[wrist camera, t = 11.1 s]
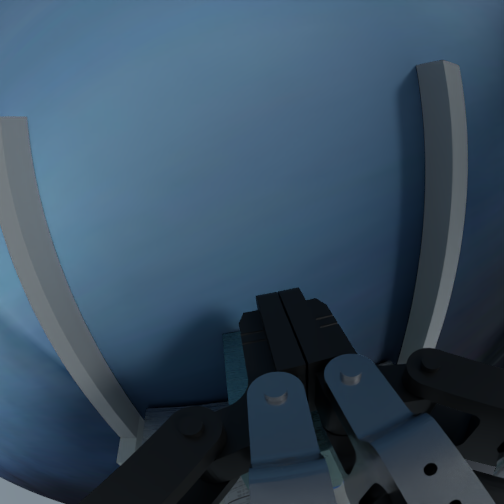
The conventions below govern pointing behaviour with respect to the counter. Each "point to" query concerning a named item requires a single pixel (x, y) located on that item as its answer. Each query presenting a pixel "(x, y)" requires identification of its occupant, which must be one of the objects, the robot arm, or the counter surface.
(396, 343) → the counter surface
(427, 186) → the guide rails
